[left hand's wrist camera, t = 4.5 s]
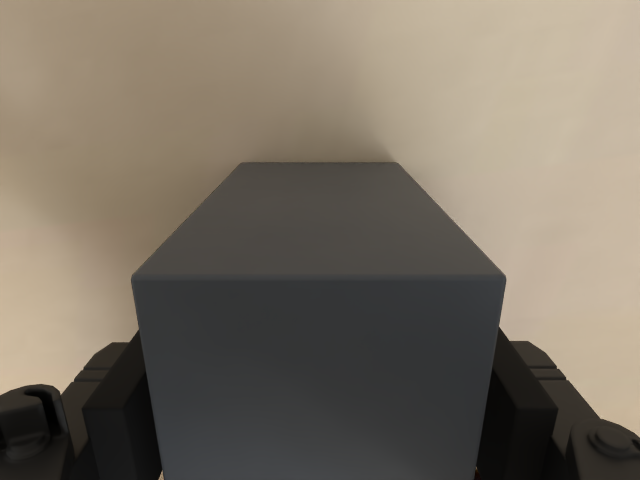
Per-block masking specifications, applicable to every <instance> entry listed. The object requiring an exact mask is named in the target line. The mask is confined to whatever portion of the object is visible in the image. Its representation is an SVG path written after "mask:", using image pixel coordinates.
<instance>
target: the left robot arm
mask: <svg viewBox="0 0 640 480" xmlns="http://www.w3.org/2000/svg"><path fill="white" fill-rule="evenodd" d="M476 467H477V469H478V472H479V474H480V477H481V479H482V480H640V438H639V437H638V436H637V435H636V434H635V433H633V432H631V431H630V430H628V429H626V428H624V427H622V426H621V425H619V424H616V423H613V422H610V421H607V420H604V419H600V418H599V416H598V415H597V414H596V413H595V412H594V410H593V409H592V408H591V407H590V406H589V404H588V403H587V402H586V401H585V400H584V398H583V397H582V396H581V395H580V394H579V392H578V391H577V390H576V389H575V388H574V386H573V385H572V384H571V383H570V382H569V380H566V377H565V376H564V374H563V373H562V372H561V371H560V370H559V369H557V366H556V365H555V364H554V362H553V361H552V360H551V359H550V358H549V356H548V355H547V354H546V353H545V352H544V351H542V350H541V349H539V348H538V347H536V346H535V345H533V344H532V343H530V342H529V341H509V340H508V338H507V337H506V336H505V334H504V333H503V331H502V330H501V329H500V327H499V328H498V334H497V341H496V347H495V353H494V359H493V365H492V371H491V377H490V383H489V390H488V396H487V402H486V408H485V414H484V420H483V426H482V432H481V439H480V445H479V451H478V457H477V463H476ZM161 472H162V464H161V458H160V452H159V446H158V440H157V434H156V428H155V422H154V416H153V410H152V404H151V398H150V392H149V386H148V380H147V374H146V368H145V362H144V355H143V349H142V343H141V337H140V331H139V330H138V331H137V333H136V334H135V336H134V337H133V338H132V340H131V341H130V342H112V343H111V344H109V345H108V346H106V347H105V348H103V349H102V350H100V351H99V352H97V353H96V354H94V356H93V357H92V358H91V359H90V361H89V362H88V363H87V364H86V365H85V367H84V369H83V370H81V371H80V373H79V374H78V375H77V376H76V377H75V379H74V382H71V384H70V385H69V386H68V387H67V388H66V390H65V391H64V392H63V393H62V394H61V395H60V391H59V390H57V389H56V388H55V387H54V386H50V385H44V384H37V385H28V386H24V387H20V388H17V389H14V390H10V391H8V392H6V393H4V394H2V395H0V480H158V479H159V477H160V474H161Z"/></svg>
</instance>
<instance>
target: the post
mask: <svg viewBox="0 0 640 480" xmlns="http://www.w3.org/2000/svg"><path fill="white" fill-rule="evenodd" d="M131 283H132V289H133V295H134V301H135V307H136V313H137V319H138V325H139V331H140V337H141V343H142V349H143V355H144V362H145V368H146V374H147V380H148V386H149V392H150V398H151V404H152V410H153V416H154V422H155V428H156V434H157V440H158V446H159V452H160V458H161V464H162V470H163V476H164V480H474V475H475V469H476V463H477V457H478V451H479V445H480V439H481V432H482V426H483V420H484V414H485V408H486V402H487V396H488V390H489V383H490V377H491V371H492V365H493V359H494V353H495V347H496V341H497V334H498V328H499V322H500V316H501V310H502V304H503V298H504V292H505V285H506V276H505V275H504V274H503V272H502V271H501V270H500V269H499V268H498V267H497V266H496V265H495V264H494V263H493V262H492V261H491V260H490V259H489V258H488V257H487V256H486V255H485V254H484V253H483V252H482V250H481V249H480V248H479V247H478V246H477V245H476V244H475V243H474V242H473V241H472V240H471V239H470V238H469V237H468V236H467V235H466V234H465V233H464V232H463V231H462V230H461V229H460V227H459V226H458V225H457V224H456V223H455V222H454V221H453V220H452V219H451V218H450V217H449V216H448V215H447V214H446V213H445V212H444V211H443V210H442V209H441V208H440V207H439V205H438V204H437V203H436V202H435V201H434V200H433V199H432V198H431V197H430V196H429V195H428V194H427V193H426V192H425V191H424V190H423V189H422V188H421V187H420V186H419V185H418V184H417V182H416V181H415V180H414V179H413V178H412V177H411V176H410V175H409V174H408V173H407V172H406V171H405V170H404V169H403V168H402V167H401V166H400V165H399V164H398V163H241V164H240V165H239V166H238V167H237V168H236V169H235V170H234V171H233V172H232V173H231V174H230V175H229V176H228V177H227V178H226V179H225V180H224V181H223V182H222V183H221V184H220V185H219V186H218V187H217V188H216V189H215V190H214V191H213V192H212V193H211V195H210V196H209V197H208V198H207V199H206V200H205V201H204V202H203V203H202V204H201V205H200V206H199V207H198V208H197V209H196V210H195V211H194V212H193V213H192V214H191V215H190V216H189V217H188V218H187V219H186V220H185V221H184V222H183V223H182V224H181V225H180V227H179V228H178V229H177V230H176V231H175V232H174V233H173V234H172V235H171V236H170V237H169V238H168V239H167V240H166V241H165V242H164V243H163V244H162V245H161V246H160V247H159V248H158V249H157V250H156V251H155V252H154V253H153V254H152V255H151V256H150V257H149V258H148V260H147V261H146V262H145V263H144V264H143V265H142V266H141V267H140V268H139V269H138V270H137V271H136V272H135V273H134V274H133V275H132V278H131Z"/></svg>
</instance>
